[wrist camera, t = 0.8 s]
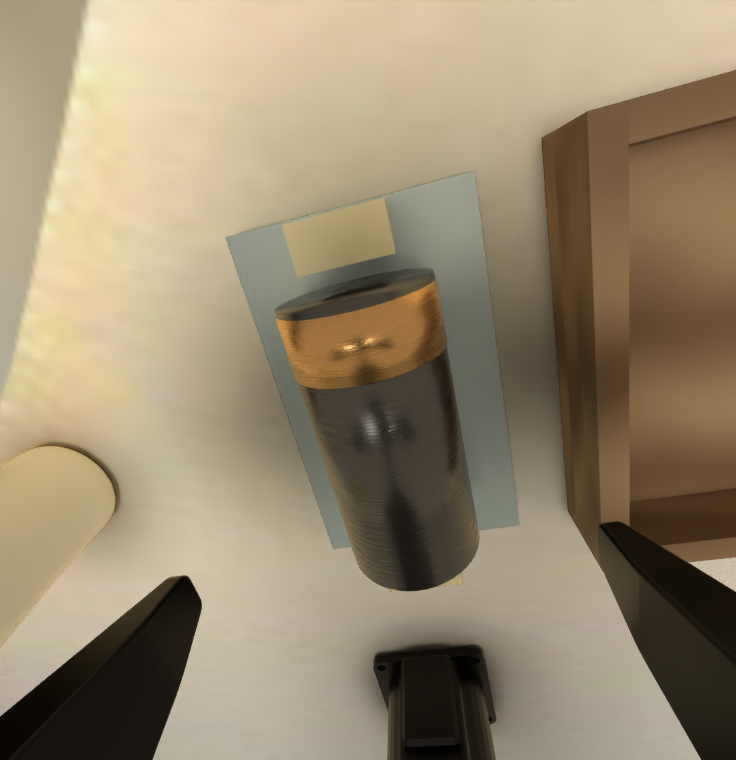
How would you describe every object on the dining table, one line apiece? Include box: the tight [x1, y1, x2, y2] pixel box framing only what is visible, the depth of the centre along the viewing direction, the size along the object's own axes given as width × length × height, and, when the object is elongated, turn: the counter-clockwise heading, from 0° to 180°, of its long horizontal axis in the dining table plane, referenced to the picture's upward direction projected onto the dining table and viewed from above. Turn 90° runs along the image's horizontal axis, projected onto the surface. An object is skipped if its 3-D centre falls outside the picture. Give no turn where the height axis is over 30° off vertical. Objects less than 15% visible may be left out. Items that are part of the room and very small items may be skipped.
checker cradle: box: [225, 171, 519, 591], centre depth 15 cm, size 15×9×4 cm, turn 13°
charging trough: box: [542, 70, 736, 571], centre depth 14 cm, size 16×9×4 cm, turn 13°
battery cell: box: [275, 268, 479, 591], centre depth 14 cm, size 10×5×5 cm, turn 13°
